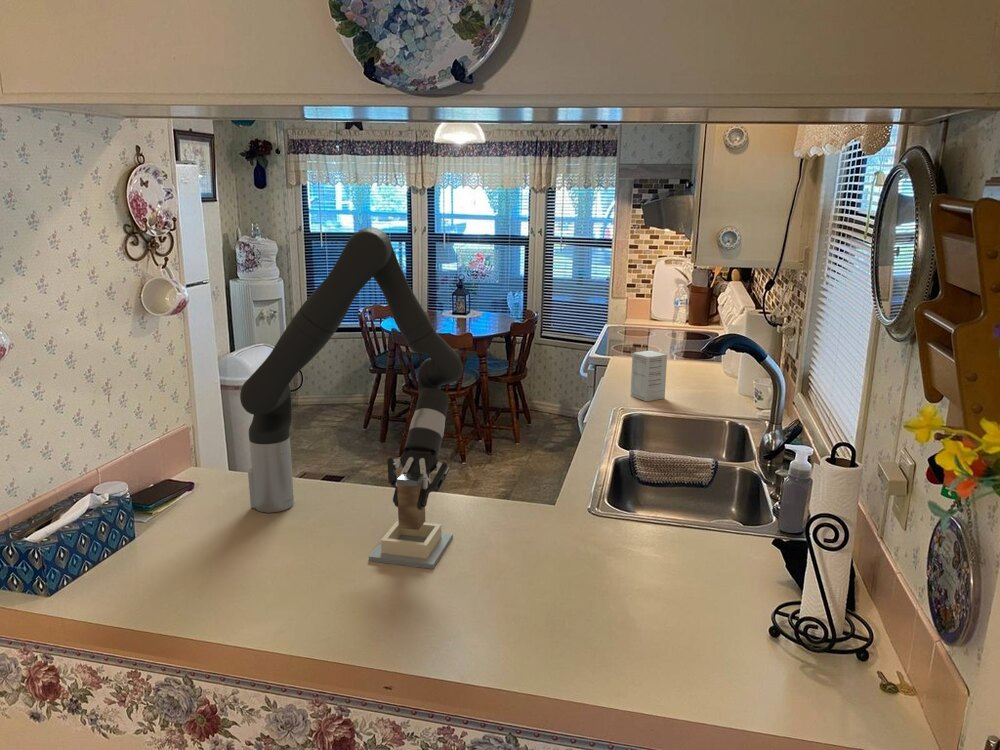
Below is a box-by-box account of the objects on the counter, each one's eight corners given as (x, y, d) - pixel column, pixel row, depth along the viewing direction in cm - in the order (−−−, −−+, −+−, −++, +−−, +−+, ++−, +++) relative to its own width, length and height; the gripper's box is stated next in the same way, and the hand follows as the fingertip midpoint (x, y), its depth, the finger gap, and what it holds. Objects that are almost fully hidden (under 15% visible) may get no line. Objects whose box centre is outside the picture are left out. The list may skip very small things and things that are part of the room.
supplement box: (665, 398, 272) (668, 354, 268) (646, 402, 267) (649, 357, 263) (648, 392, 280) (650, 349, 276) (629, 395, 275) (631, 352, 271)
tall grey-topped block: (398, 527, 154) (396, 479, 151) (406, 519, 158) (404, 471, 155) (418, 530, 153) (417, 481, 150) (425, 521, 157) (424, 473, 154)
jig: (368, 560, 152) (368, 543, 151) (393, 531, 165) (392, 514, 164) (433, 569, 149) (432, 551, 148) (452, 538, 162) (452, 521, 161)
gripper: (390, 423, 159) (370, 497, 151) (453, 428, 156) (436, 504, 147) (399, 438, 165) (381, 510, 157) (460, 443, 162) (445, 517, 154)
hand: (408, 506), depth 152 cm, fingers closed on tall grey-topped block, 4 cm apart
